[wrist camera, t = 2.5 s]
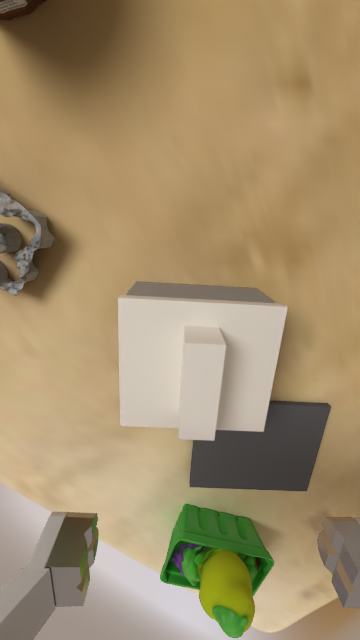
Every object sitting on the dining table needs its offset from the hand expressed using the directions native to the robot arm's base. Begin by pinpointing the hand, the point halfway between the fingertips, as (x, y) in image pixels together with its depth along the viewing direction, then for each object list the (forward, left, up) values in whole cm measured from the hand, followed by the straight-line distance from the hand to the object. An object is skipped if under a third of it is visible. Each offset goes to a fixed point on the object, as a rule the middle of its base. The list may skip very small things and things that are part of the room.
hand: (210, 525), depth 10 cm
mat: (-8, +13, -17) cm, 23 cm away
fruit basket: (-5, +25, -18) cm, 31 cm away
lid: (0, 0, -11) cm, 11 cm away
